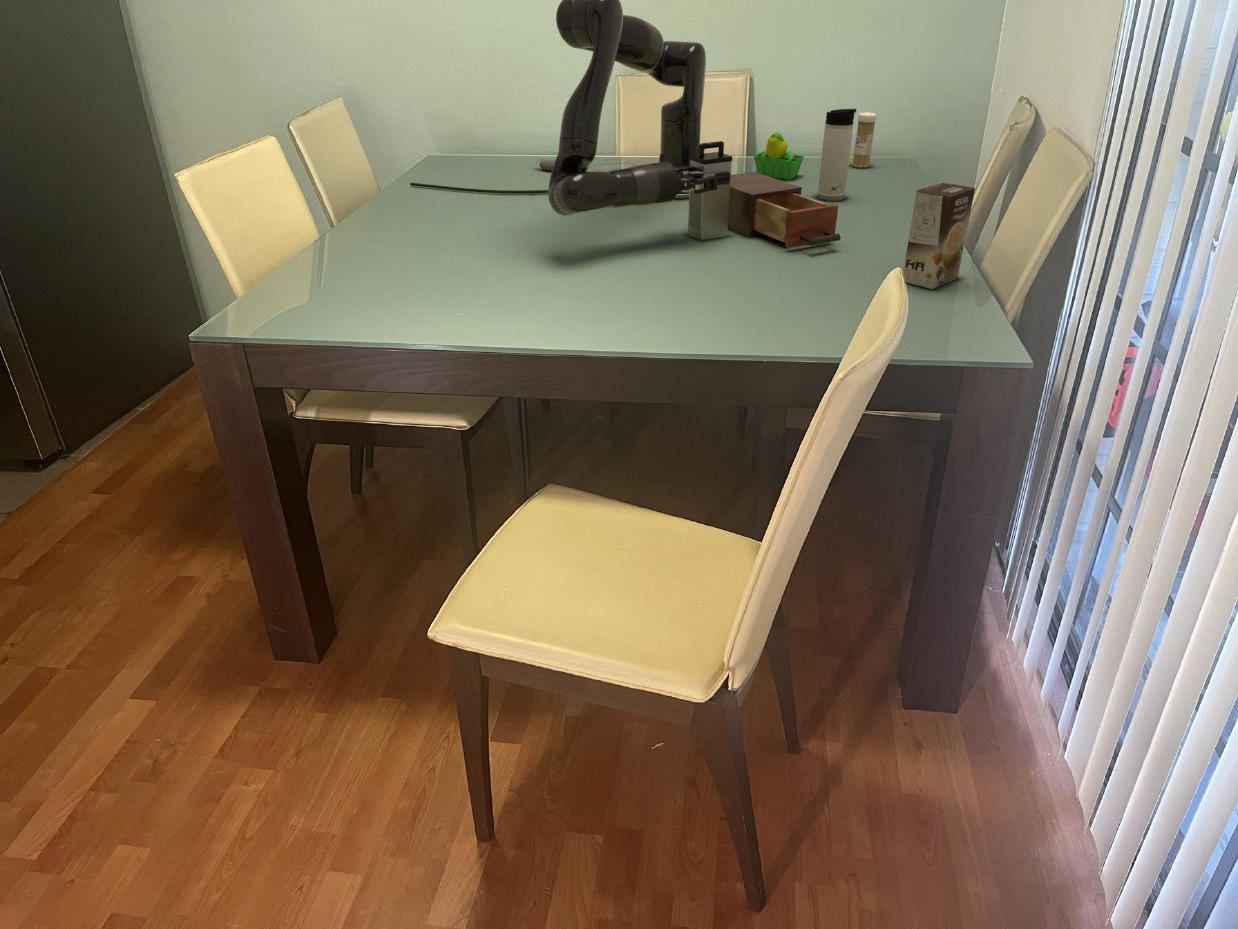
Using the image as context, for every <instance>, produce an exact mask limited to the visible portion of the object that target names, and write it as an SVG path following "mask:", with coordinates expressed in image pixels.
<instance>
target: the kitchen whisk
mask: <svg viewBox="0 0 1238 929" xmlns="http://www.w3.org/2000/svg"><path fill="white" fill-rule="evenodd" d="M626 159H627V160H626ZM626 159H625V160H624V157H621V156H620V157H617V158H614V157H609V158H605V159H600V160H596V161H592V162H591V164H592V165H591V164H590V167H597V168H602V170H601V169H597V172H603V169H612V167H610V166H608V167H606V166H605V165H607V163H602V164H601V163H599V166H597V164H594V163H598V162H603V161H612V160H613V161H614V160H615V161H622V162H623V163H622V162H615V163H614V162H613V163H612V162H611V165H632V166H636V165H637V163H636V162H634V160H633V159H632V158H629V157H626ZM555 160H556V159H546V158H540V159H539V160H537V161H536V163H535V167H536V168H537V169H538V170H540V171H543V170H544V171H552V170H553V167H554V163H555ZM628 160H631V161H632V162H634V163H631V162H630V161H628ZM538 162H539V165H537V164H538ZM538 166H539V167H538ZM616 169H623V168H621V167H616ZM590 170H592V171H596V169H594V168H590ZM590 170H589V167H588V168H587V171H586V172H590Z"/></svg>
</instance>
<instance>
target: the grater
mask: <svg viewBox="0 0 1238 929" xmlns="http://www.w3.org/2000/svg"><path fill="white" fill-rule="evenodd" d="M717 148H718V150H717V151H713V152H705V150H709V149H717ZM724 151H725V142H724V140H723V141H722V140H719V141H711V142H702V143H701V142H700V145H699V154H696V155H690V167H691V172H693V171H702V172H703V173H704V174H711V173H721V172H730V174H731V175H732V162H733V156H732V155H729V154H726V153H725V152H724ZM697 178H699V175H697ZM730 180H731V178H730ZM729 197H730V183H729V184H723V185H718V186H717V190H712V191H708V192H704V193H699V194H695V193H694V191H689V198H688V213H687V214H688V217H687V218H688V219H687V221H688V222H687V223H688V224H687V235H688V236H689V237H692V238H694V239H696V240H698V241H701V242H702V241H708V240H713V239H719V238H726V237H728V231H729V228H728V215H729Z"/></svg>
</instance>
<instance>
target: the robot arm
mask: <svg viewBox="0 0 1238 929" xmlns="http://www.w3.org/2000/svg"><path fill="white" fill-rule="evenodd" d="M555 23H556V28H557V31H558V33H559V36H560V37H561V38H562V40H563V41H564V42H565V43H566V44H567V46H569V47H571V48H573V49H578V50H583V51H588V52H592V54H591V58H590V62H589V64H588V67H587V69H586V71H585V72H584V74H583V76H582V78H581V80H580V81H579V83H578V85H577V86H576V87H575V88H574V91H573V92H572V94H571V96H570V97H569V99H568V100H567V102H566V104H565V107H564V109H563V113H562V118H561V122H560V123H561V124H560V132H559V140H558V141H559V142H558V150H557V153H556V158H555V159H554V160H555V163H554V167H553V170H551V173H550V177H549V181H548V189H533V190H532V189H531V190H530V189H529V190H527V189H526V190H520V189H519V190H515V189H514V190H513V189H512V190H510V189H509V190H506V189H505V190H504V189H503V190H502V189H501V190H500V189H481V188H467V187H466V188H465V187H457V186H447V185H437V184H428V183H419V182H410V183H409V185H410V186H412V187H421V188H431V189H439V190H440V189H441V190H447V191H448V190H449V191H458V192H459V191H460V192H470V193H471V192H472V193H485V194H509V195H510V194H511V195H513V194H516V195H517V194H518V195H519V194H521V195H522V194H527V195H528V194H547V197H548V203H549V206H550V207H551V209H552V210H553V211H554V212H555V213H556V214H557V215H560V216H563V217H569V216H573V215H577V214H580V213H586V212H590V211H595V210H601V209H619V208H627V207H641V206H642V207H643V206H648V205H649V206H650V205H656V204H663V203H669V202H672V201H673V200H675V199H678V200H680V199H681V200H682V199H689V191H694V193H695V194H699V193H704V192H708V191H712V190H717V186H718V185H723V184H729V183H730V178H731V175H732V173H731V174H730V172H721V173H711V174H704V173H703V172H702V171H693V172H691V167H690V155H696V154H699V145H700V144H701V130H702V128H701V127H702V110H703V106H704V94H705V93H704V92H705V83H706V82H705V81H706V70H707V53H706V50H705V46H704V45H703V44H702V43H701V42H695V41H677V40H664V38H663V35H662V33H661V31H660V30H659V29H658V28H657V27H656V26H654V25H653V24H652V23H650V22H649V21H647V20H644V19H643V18H640V17H637V16H633V15H627V14H624V11H623V6H622V3H621V1H620V0H561V1H560V2H559V4H558V6H557V10H556V15H555ZM615 62H616V63H618V64H621V65H622V66H624V67H627V68H629V69H631V70H633V71H636V72H640V73H644V74H647V75H649V76H650V77H651V78H653V79H654V80H655V81H656V82H657V83H659V84H661V85H664V86H669V87H677V88H679V87H680V88H683V90H682V95H681V96H680V97H679V98H678V99H675V100H673V101H670V102H667V103H664V104H663V105H662V106H661V109H660V148H659V149H660V150H659V151H660V152H659V157H658V158H659V161H658V162H652V163H643V164H636V165H631V166H629V167H624V168H622V169H617V168H613V169H608V170H603V171H589V172H586V171H587V168H588V169H589V167H590V166H591V164H592V162H594V160H595V157H596V155H597V149H598V148H597V147H598V140H599V132H600V124H601V117H602V112H603V111H602V110H603V107H604V102H605V98H606V94H607V91H608V87H609V84H610V80H611V77H612V72H613V69H614V66H615ZM697 175H699V178H697Z"/></svg>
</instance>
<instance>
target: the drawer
mask: <svg viewBox="0 0 1238 929" xmlns="http://www.w3.org/2000/svg"><path fill="white" fill-rule="evenodd" d="M838 212H839V205H838V204H836V203H833V204H828V203H825V202H822V201H820V200H816V199H814V198H810V197H808V196H804V195H802V194H801V195H799V194H796V193H786V194H780V195H773V196H766V197H760V198H755V204H754V218H753V230H755V231H757V232H760V233H762V234H764V235H765V236H768V237H770V238H771V239H775V240H777V241H780V242H782V243H785V244H784V245H785V246H784V247H786V248H788V249H789V248H796V247H801V246H807V245H808V246H810V247H812V246H817V245H823V244H828V243H833V242H838V241H840V240H841V238H842V237H841V234H840V233H836V229H837V220H838Z"/></svg>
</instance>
